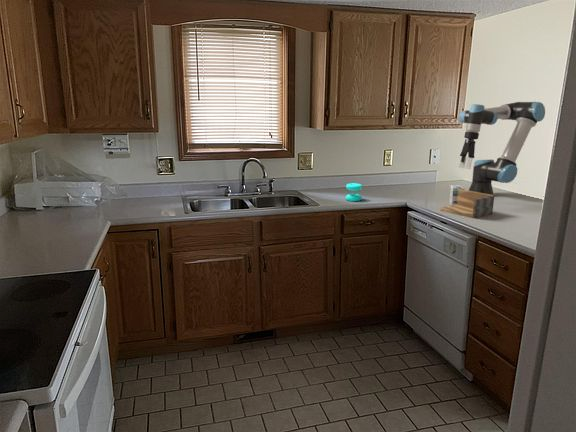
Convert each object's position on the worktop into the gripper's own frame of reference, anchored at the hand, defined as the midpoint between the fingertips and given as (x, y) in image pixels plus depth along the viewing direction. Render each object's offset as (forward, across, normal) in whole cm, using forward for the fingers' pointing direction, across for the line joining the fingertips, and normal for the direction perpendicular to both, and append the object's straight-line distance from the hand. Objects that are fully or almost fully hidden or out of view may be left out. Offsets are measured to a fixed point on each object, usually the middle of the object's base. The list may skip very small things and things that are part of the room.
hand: (464, 168), depth 259 cm
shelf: (+24, +16, +10) cm, 30 cm away
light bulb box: (+22, -1, -1) cm, 22 cm away
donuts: (+29, +24, -56) cm, 68 cm away
